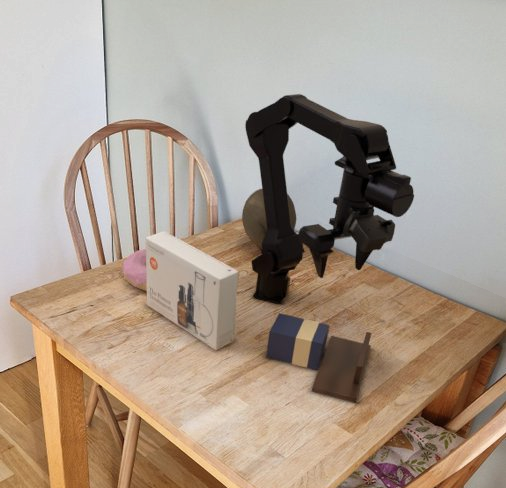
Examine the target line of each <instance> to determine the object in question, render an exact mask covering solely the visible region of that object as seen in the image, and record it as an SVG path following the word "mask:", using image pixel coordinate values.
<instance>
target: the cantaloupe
mask: <svg viewBox="0 0 506 488" xmlns="http://www.w3.org/2000/svg"><path fill="white" fill-rule="evenodd" d="M287 196H288V205H289V214H290V223H291V227H292V228H293V230H294V231H295V228H296V224H297V213H296V207H295V204H294V201H293V200H292V198H291V197H290V195H289V194H288V193H287ZM241 216H242V217H241V219H242V226H243V229H244V232H245V234H246V236H247V237H248V239H249V240H250V241H251V242H252V243H253V244H254V245H255V246H257V247H258V248H260V249H262V241H263V239H264V236H265V233H266V231H267V223H266V215H265V206H264V198H263V190H262V188H259V189H257V190H255V191H253V192H252V193H251V194H250V195H249V196H248V198H247V199H246V201H245V203H244V205H243V208H242V215H241Z"/></svg>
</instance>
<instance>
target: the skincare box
mask: <svg viewBox="0 0 506 488" xmlns="http://www.w3.org/2000/svg"><path fill="white" fill-rule="evenodd" d="M145 249H146V276H147V291H146V306H148V307H149V308H151V309H152V310H154V311H155V312H157V313H158V314H160V315H161V316H163V317H165V318H166V320H167V319H168V320H169V321H171V322H172V323H173V324H174V325H176V326H178V327H179V328H181V329H182V330H184V331H186V332H187V333H189V334H190V335H192V336H193V337H195V338H196V339H198V340H199V341H201V342H202V343H204V344H205V345H207V346H209V347H210V348H211V349H213V350H215V351H218V350H220V349H222V348H224V347H225V346H227V345H229V344H231V343H233V342H234V339H235V323H236V314H237V313H236V312H237V300H238V299H237V296H238V295H237V294H238V283H239V275H240V274H239V273H240V272H239V270H238V269H235V268H234V267H232V266H230V265H228V264H226V263H224V262H222V261H221V260H219V259H217V258H215V257H213V256H211V255H209V254H207V252H204V251H202V250H200V249H198V248H197V247H194V246H193V245H191V244H189V243H187V242H186V241H183V240H181V239H180V238H179V237H176V236H174V235H173V234H170V233H168V232H167V231H164V230H163V231H160V232H158V233H157V232H156V233H154V234H151V235H149V236H146V237H145Z"/></svg>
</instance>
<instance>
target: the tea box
mask: <svg viewBox="0 0 506 488" xmlns="http://www.w3.org/2000/svg"><path fill="white" fill-rule="evenodd" d="M330 326H331V325H330V324H328V323H327V324H326V323H322V322H318V321H313V320H310V319H307V318H301V317H297V316H293V315H290V314H285V313H281V312H279V313H278V314H277V316H276V318H275V320H274V321H273V324H272V326H271V327H270V330H269V332H268V339H267V346H266V355H265V358H266V359H270V360H271V359H272V360H275V361H278V362H283V363H287V364H291V365H294V366H297V367H302V368H306V369H310V370H314V371H318V370H319V368H320V365H321V362H322V360H323V357H324V354H325V351H326V348H327V342H328V336H329V331H330Z"/></svg>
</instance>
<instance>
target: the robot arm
mask: <svg viewBox="0 0 506 488" xmlns="http://www.w3.org/2000/svg"><path fill="white" fill-rule="evenodd" d="M297 124H299V125H301V126H303V127H305V128H306V129H308V130H311V131H312V132H314V133H316V134H318V135H319V136H321V137H324V138H326V139H327V140H328V141H330V142H331V143H333V144H334V147H335V149H336V151H337V152H338V153H339V154H341V155H342V157H341V158H338V159H336V160H335V161H334V165H335V166H336V167H339V168H341V169H343V171H342V177H341V182H340V187H339V193H338V196H334V197H333V199H332V204H334V205H336V208H335V213H334V217H330V218H329V222H328V224H329V225H330V226H332V228H330V229H327V228H325V227H324V226H323V225H321V224H319V223H316V224H309V225H303V226H301V228H299V231H298V233H297V232H296V231H295V229H294V230H293V228H292V227H291V223H290V214H289V205H288V196H287V194H288V189H287V178H286V169H285V160H284V154H285V151H286V148H287V146H288V143H289V141H290V129H292V128H293V127H294V126H296V125H297ZM244 126H245V133H246V138H247V141H248V144H249V145H248V146H249V148H250V149H251V150H252V152H253V153H254V155H255V156H256V157H257V159H258V165H259V172H260V173H259V174H260V182H261V189H262V190H263V198H264V206H265V215H266V223H267V231H266V233H265V236H264V239H263V241H262V248H261V254H260V255H258V256H257V257H255V258H253V259H252V260H251V261H250V262H251V267H252V268H251V270H252V271H253V272H254V273H256V274H257V276H256V284H255V291H254V292H253V295H252V298H254V299H257V300H261V301H266V302H269V303H274V304H278V305H281V304H282V303H283V302H284V300H285V299H286V298H287V296H288V295H289V293H290V292H289V291H290V284H291V277H290V276H289V273H290V271H295V270H296V268H297V266H298V265H299V264H300V263H301V262H302V261H303V258H304V257H303V256H304V254H303V253H305V252H306V251H305V248H304V246H305V247H307V248H308V250H309V252H310V254H311V257H312V260H313V263H314V264H313V265H314V268H315V271H316V274H317V276H318V277H319V278H320V279H323V278H324V275H325V272H326V267H327V262H328V259H329V256H331V254H333V253H334V249H333V247H334V246H335V241H336V240H343V239H347V238H352V239H353V241H354V242H355V243H356V244H355V256H354V257H355V258H354V265H355V266H354V267H355V269H356V270H357V271H361V270H362V268H363V267H364V265H365V264H366V262H367V261H368V259H369V258H370V255H371V254H372V253H373V252H374V251H381V249H382V248H383V246H384V245H385V244H387V243H388V242H392V240H393V238H394V234H395V230H396V223H395V222H394V220H393V219H386V218H383V217H382V216H380V215H379V214H375V208H376V209H378V210H379V211H382V212H385V213H386V214H389V215H391V216H393V217H396V218H400V217H403V216H404V215H405V214H406V213H407V212H408V211H409V210H410V208H411V206H412V205H413V202H414V198H415V194H414V187H413V185H412V184H411V181H412V177H411V176H408V175H407V174H401V173H398V172H396V171H394V170H397V165H396V162H395V158H394V155H393V151H392V148H391V145H390V142H389V135H388V130H387V129H386V128H385V127H384V126H383V125H382V124H379V123H376V122H370V121H365V120H359V119H358V120H357V119H351V118H348V117H346V116H343V115H341V114H340V113H338V112H335V111H333V110H331V109H329V108H327V107H325V106H323V105H321V104H319V103H317V102H315V101H313V100H311V99H309V98H308V97H307V96H306V95H303V94H300V93H296V94H295V93H294V94H285V95H283V96H282V97H280V98H279V99H278V100H276V101H275V102H273V103H271V104H269V105H267V106H265V107H263V108H261V109H259V110H258V111H253V112H251V113H250V114H249V115H248V117H247V119H246V120H245V125H244ZM375 159H378V160H376V161H371V162H367V161H370V160H375Z"/></svg>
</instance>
